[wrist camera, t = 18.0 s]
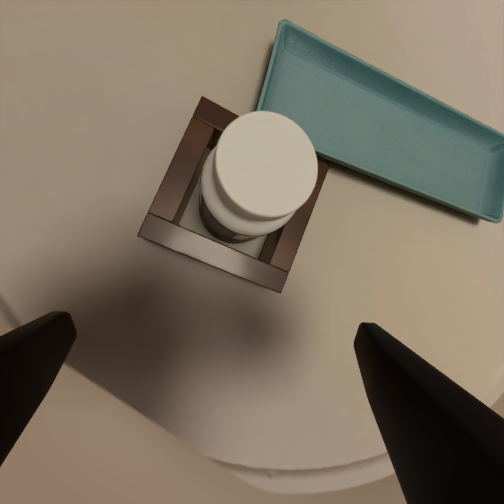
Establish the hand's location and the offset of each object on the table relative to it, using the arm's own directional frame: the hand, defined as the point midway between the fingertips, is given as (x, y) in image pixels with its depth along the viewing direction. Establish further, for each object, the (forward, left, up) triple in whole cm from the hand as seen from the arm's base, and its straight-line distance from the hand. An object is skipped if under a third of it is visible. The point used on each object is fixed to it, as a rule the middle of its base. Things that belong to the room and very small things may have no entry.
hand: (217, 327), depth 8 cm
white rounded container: (+6, +2, -12) cm, 14 cm away
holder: (+6, +3, -12) cm, 14 cm away
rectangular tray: (+21, -3, -12) cm, 25 cm away
